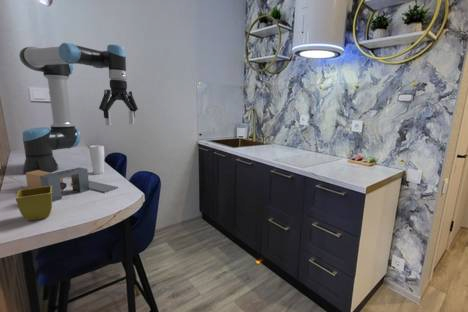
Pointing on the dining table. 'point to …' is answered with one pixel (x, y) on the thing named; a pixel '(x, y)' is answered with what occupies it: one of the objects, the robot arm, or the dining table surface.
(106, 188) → the mat
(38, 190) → the flower pot
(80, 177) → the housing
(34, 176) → the plug
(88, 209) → the dining table surface
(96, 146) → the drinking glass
